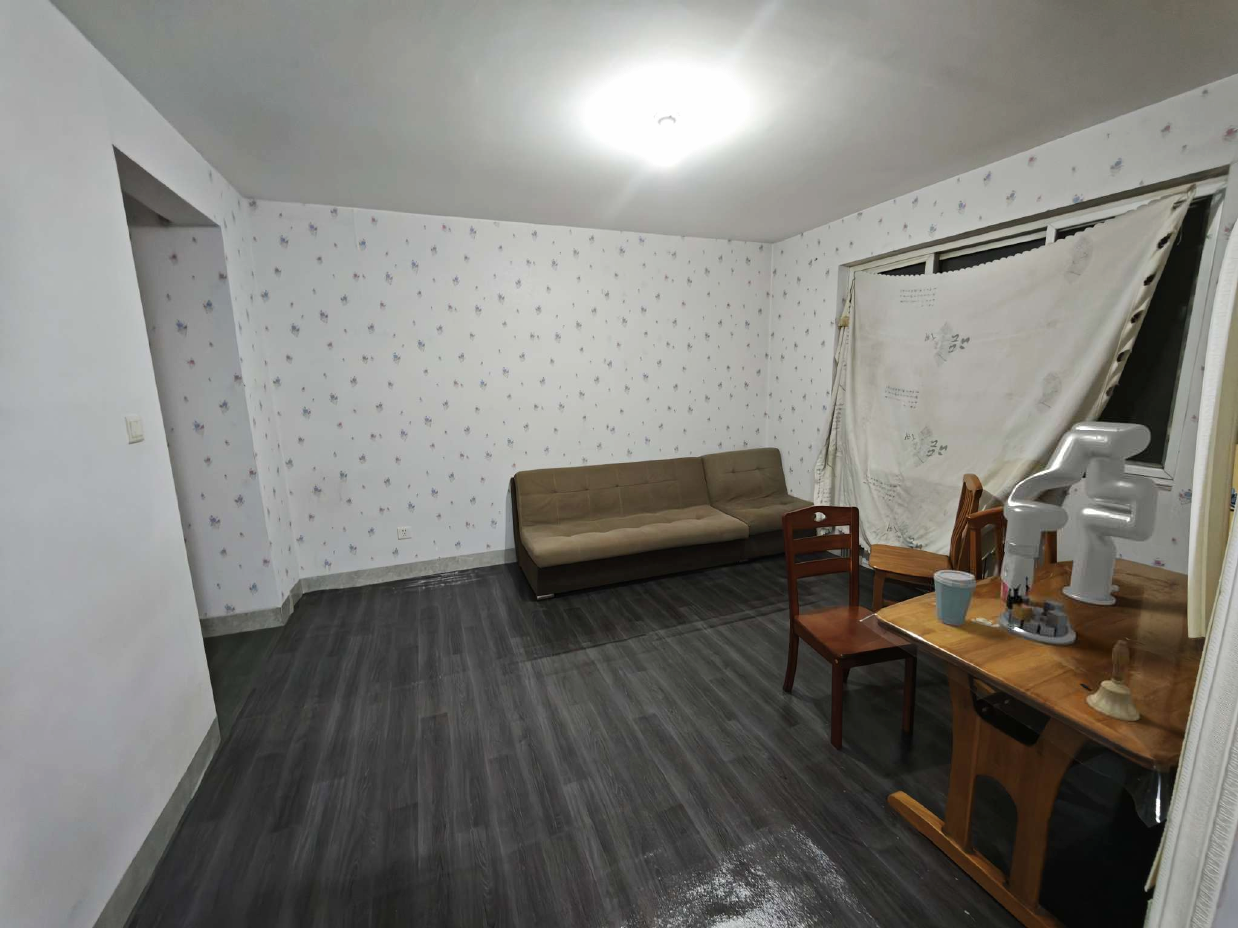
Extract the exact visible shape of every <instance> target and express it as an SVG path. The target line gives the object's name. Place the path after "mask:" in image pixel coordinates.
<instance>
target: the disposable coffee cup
mask: <svg viewBox="0 0 1238 928" xmlns="http://www.w3.org/2000/svg"><path fill="white" fill-rule="evenodd" d="M933 579H934V589H935V591H934V593H935V606H936V608H935V609H936V616H937V617H936V618H937V620H938V621H940V622H941V623H943V624H946V625H948V626H949V625H950V626H955V627H956V626H957V627H958V626H959V627H960V626H962V625H963V623H965V620H966V617H967V614H968V611H969V606H970V605H971V602H972V597H973V596H974V595H973V594H974V592H975V589H976V587H977V581H976V578H975V574H972V573H969V572H966V571H961V570H952V569H951V570H950V569H945V570H944V569H943V570H939V571H936V572H935V573H934V574H933Z"/></svg>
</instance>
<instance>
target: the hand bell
mask: <svg viewBox="0 0 1238 928" xmlns="http://www.w3.org/2000/svg"><path fill="white" fill-rule="evenodd" d="M1129 659H1130V650H1129V647H1128V642H1127V641H1125V640H1122V639H1119V640H1117V643H1116V644H1115V645H1114V647H1113V648H1112V650H1111V661H1112V664H1113V668H1112V673H1111V680H1104V681H1102V682H1101V683H1100V686H1099V688H1098V690H1097V691H1096V692H1095V693H1094V694H1090V695H1088V696H1087V697H1086V699H1085V700H1086V704H1088V705H1089V706H1090V707H1091V708H1092V709H1093V710H1095V711H1096V712H1098V713H1100V714H1103V715H1105V716H1107V717H1110V718H1113V719H1116V720H1120V721H1124V722H1136V721H1138V720H1140V718H1141V716H1140V714H1139V712H1138V710H1137V709H1136V708H1135V707H1134V706H1133V704H1132V703H1133V702H1132V698H1131V689H1130V688H1129V687H1128V686H1126V685H1124V684H1123V683H1124V682H1123V680H1124V671H1125V668H1126V666H1127V665H1128V663H1129Z"/></svg>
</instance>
